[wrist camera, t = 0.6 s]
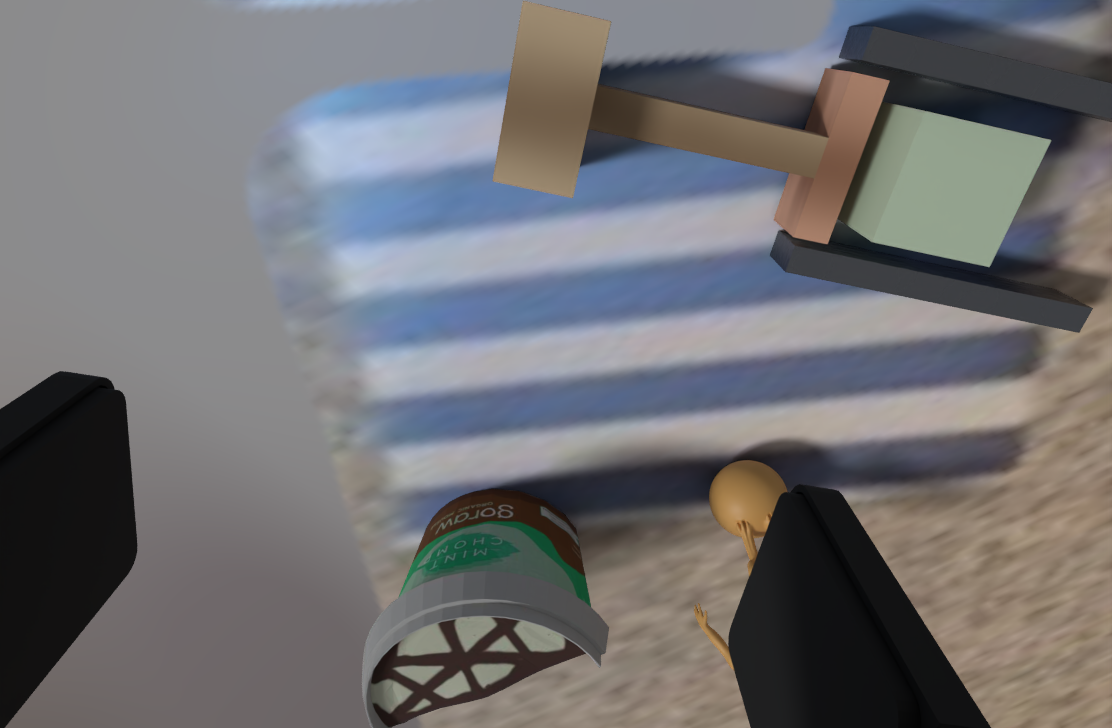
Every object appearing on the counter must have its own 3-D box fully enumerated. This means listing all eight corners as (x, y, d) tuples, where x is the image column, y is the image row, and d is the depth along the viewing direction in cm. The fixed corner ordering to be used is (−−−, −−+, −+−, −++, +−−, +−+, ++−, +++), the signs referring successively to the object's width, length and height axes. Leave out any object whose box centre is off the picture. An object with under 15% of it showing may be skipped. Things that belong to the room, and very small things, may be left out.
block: (870, 99, 30) (925, 110, 26) (979, 124, 31) (1051, 140, 26) (828, 212, 32) (871, 242, 28) (930, 234, 33) (989, 267, 28)
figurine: (809, 425, 37) (912, 589, 26) (828, 514, 40) (930, 697, 29) (656, 468, 38) (694, 641, 27) (683, 552, 41) (729, 741, 30)
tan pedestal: (530, -1, 28) (524, -8, 23) (859, 75, 30) (923, 85, 24) (502, 161, 31) (491, 187, 26) (804, 226, 32) (851, 263, 27)
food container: (549, 435, 37) (545, 564, 28) (599, 519, 40) (612, 663, 31) (355, 522, 40) (295, 666, 31) (414, 596, 42) (374, 750, 33)
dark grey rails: (849, 26, 29) (874, 26, 27) (1158, 100, 30) (1207, 106, 28) (769, 255, 33) (785, 272, 31) (1044, 312, 34) (1079, 332, 32)
